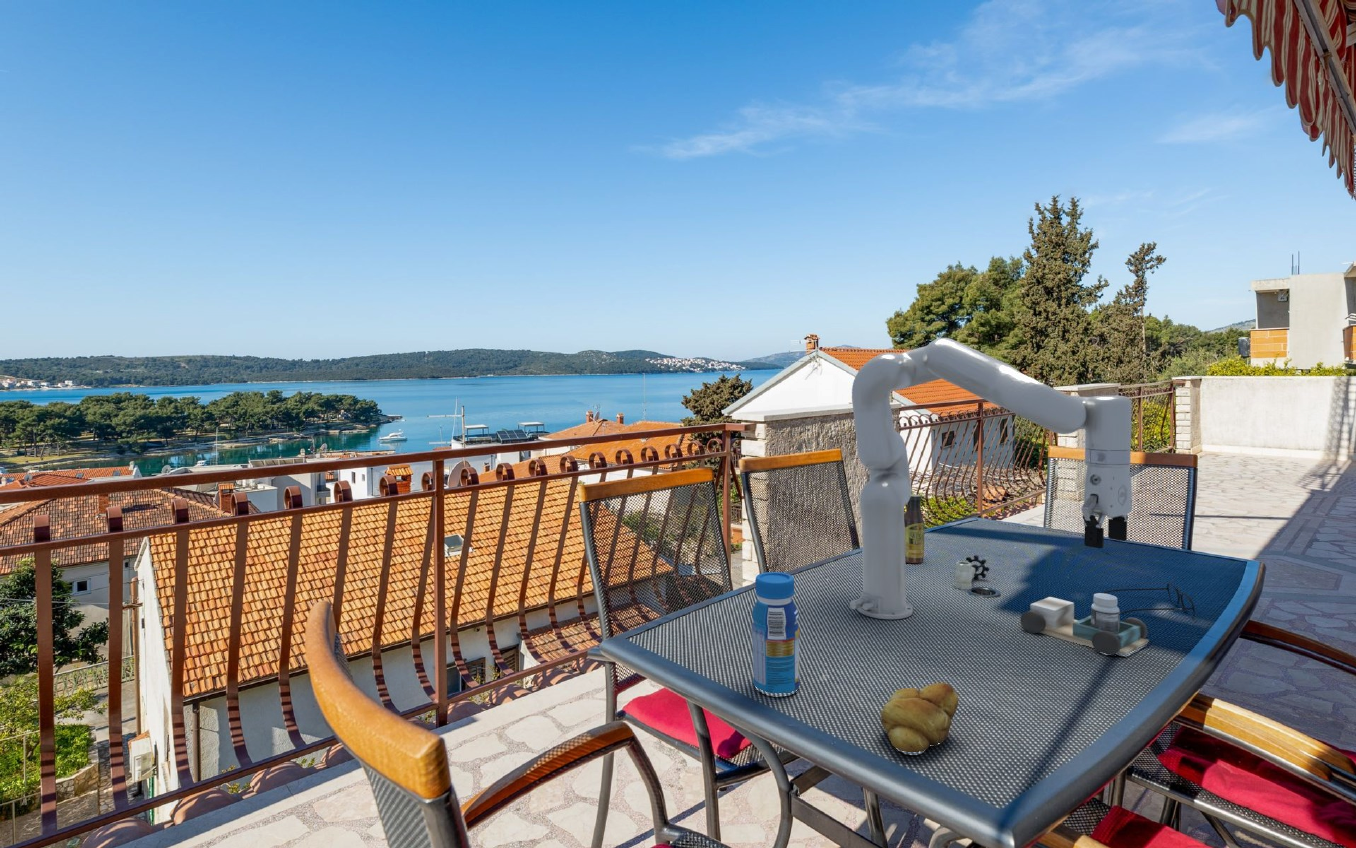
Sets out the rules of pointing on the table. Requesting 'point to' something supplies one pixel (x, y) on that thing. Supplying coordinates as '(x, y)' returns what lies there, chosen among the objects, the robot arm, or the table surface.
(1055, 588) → the table surface
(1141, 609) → the glasses
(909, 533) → the sauce bottle
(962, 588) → the valve
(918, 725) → the bread roll
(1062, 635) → the toy car chassis
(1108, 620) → the pill bottle
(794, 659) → the beverage bottle
